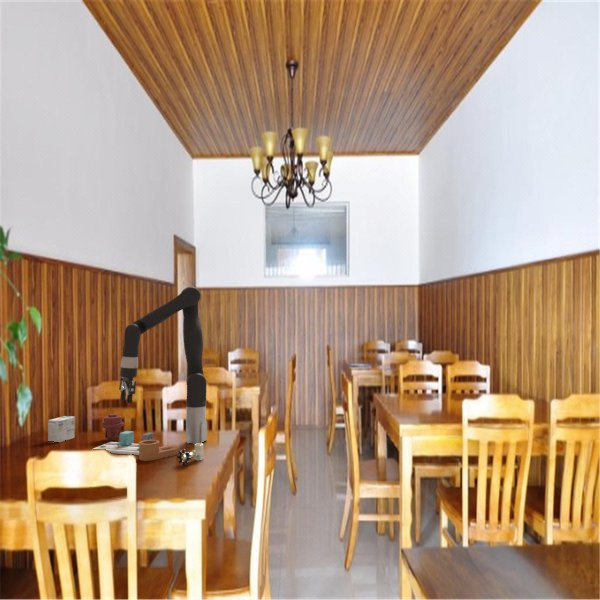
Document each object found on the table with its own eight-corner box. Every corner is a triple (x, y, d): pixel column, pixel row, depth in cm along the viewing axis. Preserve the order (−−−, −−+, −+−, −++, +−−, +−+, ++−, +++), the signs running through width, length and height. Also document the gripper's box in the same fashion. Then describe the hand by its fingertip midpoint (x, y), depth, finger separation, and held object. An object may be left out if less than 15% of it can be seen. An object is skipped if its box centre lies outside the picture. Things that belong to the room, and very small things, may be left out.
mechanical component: (107, 436, 247) (126, 437, 246) (97, 441, 237) (117, 442, 236) (108, 412, 248) (127, 412, 247) (98, 416, 238) (117, 416, 237)
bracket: (144, 462, 204) (145, 445, 204) (135, 458, 209) (135, 442, 210) (182, 453, 216) (182, 438, 217) (172, 450, 222) (172, 435, 223)
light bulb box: (64, 437, 247) (65, 415, 248) (75, 438, 245) (75, 416, 245) (47, 442, 237) (47, 419, 237) (57, 443, 235) (58, 420, 235)
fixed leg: (153, 445, 225) (153, 432, 226) (142, 450, 216) (142, 437, 217) (147, 444, 226) (148, 432, 226) (136, 449, 217) (136, 437, 217)
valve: (195, 457, 210) (176, 465, 200) (195, 442, 211) (177, 448, 200) (208, 459, 207) (189, 467, 197) (208, 443, 208) (189, 450, 197)
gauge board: (157, 447, 226) (157, 444, 226) (141, 455, 213) (141, 451, 213) (110, 444, 232) (110, 441, 232) (92, 451, 220) (92, 447, 220)
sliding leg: (133, 443, 228) (133, 431, 228) (121, 448, 219) (121, 436, 219) (126, 442, 229) (126, 430, 229) (113, 447, 220) (113, 435, 220)
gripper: (142, 368, 225) (139, 403, 224) (131, 365, 236) (128, 399, 235) (126, 368, 220) (123, 404, 219) (116, 365, 231) (112, 399, 230)
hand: (125, 401), depth 227 cm, fingers open, 8 cm apart
